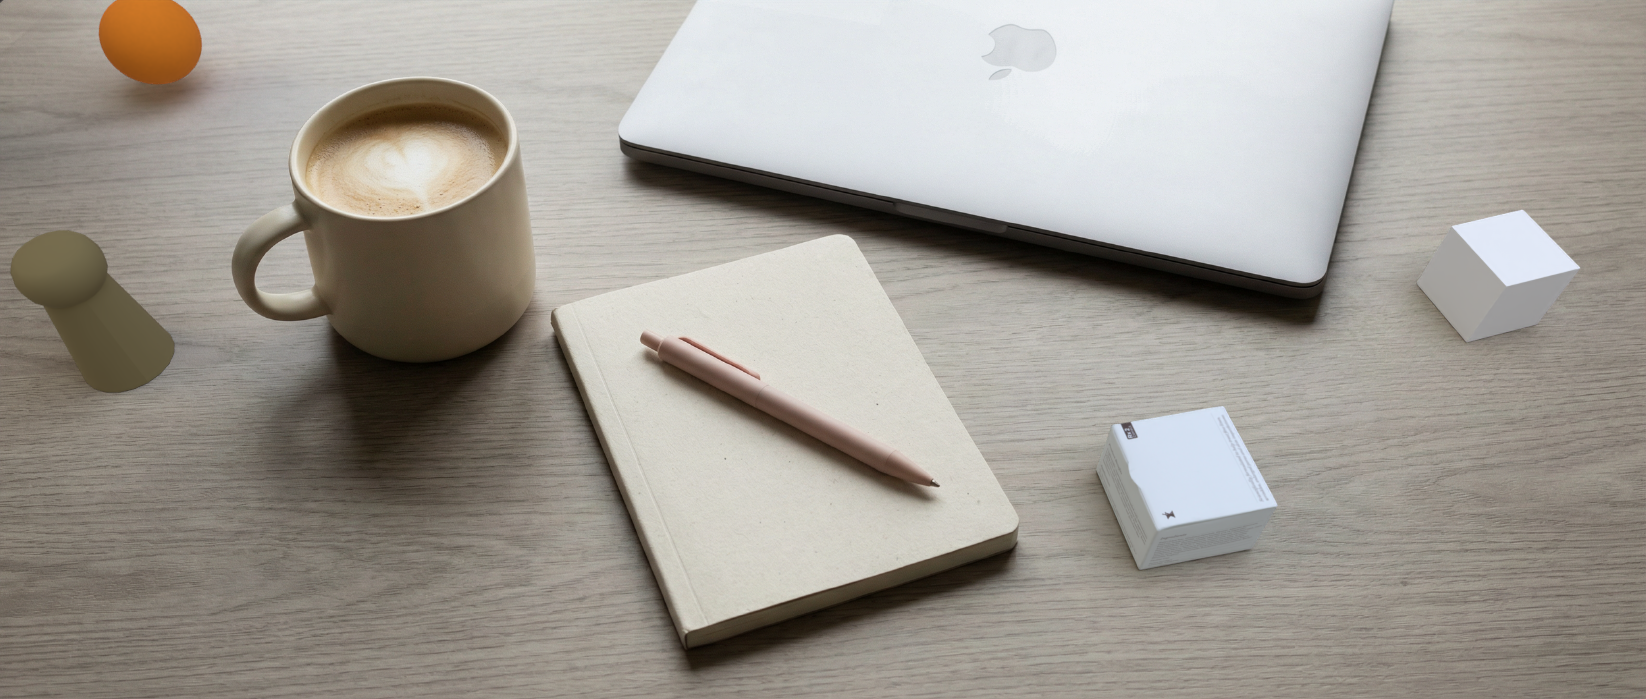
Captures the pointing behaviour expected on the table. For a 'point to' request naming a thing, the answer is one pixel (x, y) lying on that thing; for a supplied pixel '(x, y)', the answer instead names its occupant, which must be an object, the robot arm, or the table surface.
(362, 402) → the table surface
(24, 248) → the olive pawn
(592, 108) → the table surface
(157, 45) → the orange
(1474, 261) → the white cube
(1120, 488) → the small box
